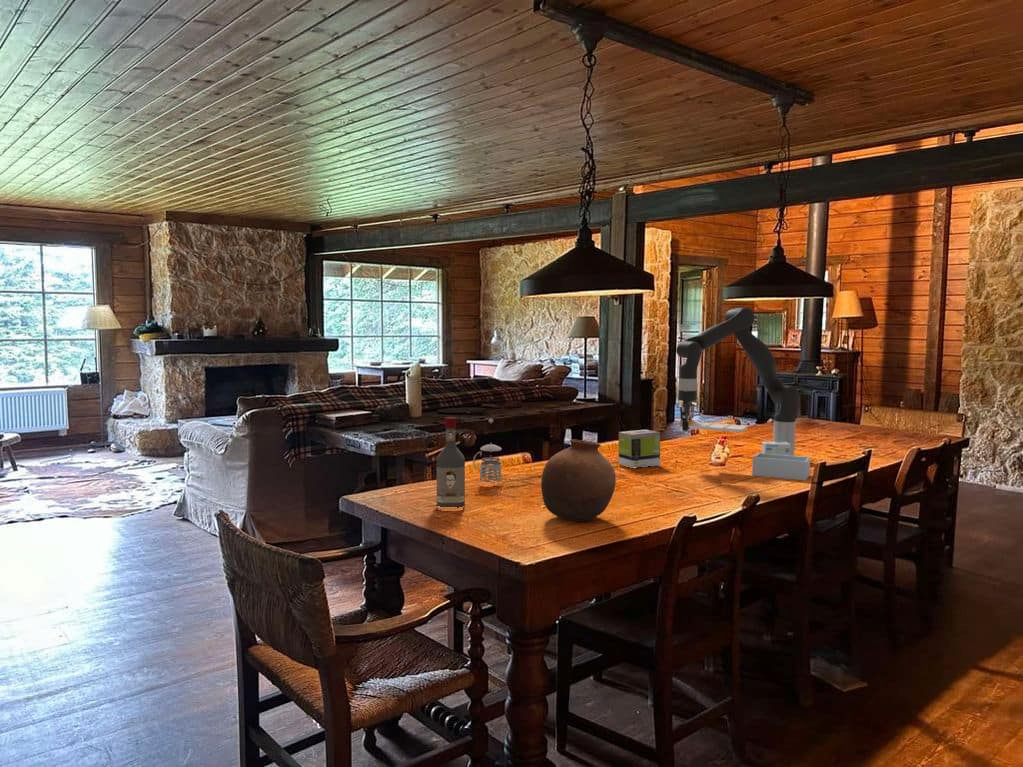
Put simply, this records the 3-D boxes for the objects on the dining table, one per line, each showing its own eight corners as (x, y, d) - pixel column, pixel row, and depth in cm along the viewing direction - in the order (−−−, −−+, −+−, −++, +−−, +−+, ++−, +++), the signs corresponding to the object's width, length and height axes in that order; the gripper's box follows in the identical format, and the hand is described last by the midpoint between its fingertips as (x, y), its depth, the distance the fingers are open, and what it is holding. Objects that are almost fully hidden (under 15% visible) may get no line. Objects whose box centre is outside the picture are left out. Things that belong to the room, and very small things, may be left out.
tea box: (646, 462, 326) (647, 428, 325) (660, 466, 317) (661, 432, 316) (617, 465, 319) (618, 430, 318) (631, 469, 310) (631, 434, 309)
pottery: (530, 524, 226) (530, 442, 224) (556, 506, 247) (557, 432, 245) (602, 532, 217) (603, 448, 215) (623, 514, 238) (624, 436, 236)
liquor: (437, 505, 249) (436, 416, 247) (464, 504, 250) (464, 415, 247) (436, 512, 240) (436, 419, 237) (464, 511, 241) (464, 419, 238)
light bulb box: (786, 466, 318) (787, 441, 317) (790, 469, 311) (791, 444, 310) (760, 465, 319) (761, 440, 318) (764, 468, 312) (765, 443, 311)
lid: (684, 424, 318) (684, 418, 318) (747, 428, 306) (747, 422, 306) (677, 427, 308) (677, 421, 307) (741, 432, 295) (741, 426, 295)
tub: (757, 472, 305) (757, 452, 304) (809, 477, 295) (810, 457, 295) (752, 477, 295) (752, 457, 294) (806, 482, 286) (806, 461, 285)
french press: (500, 488, 275) (500, 420, 273) (470, 486, 277) (470, 419, 275) (506, 482, 284) (506, 417, 282) (476, 481, 287) (476, 416, 284)
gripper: (683, 387, 318) (682, 427, 320) (674, 390, 306) (673, 431, 307) (701, 388, 315) (699, 428, 316) (692, 391, 302) (691, 432, 304)
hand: (686, 429), depth 312 cm, fingers closed on lid, 4 cm apart
